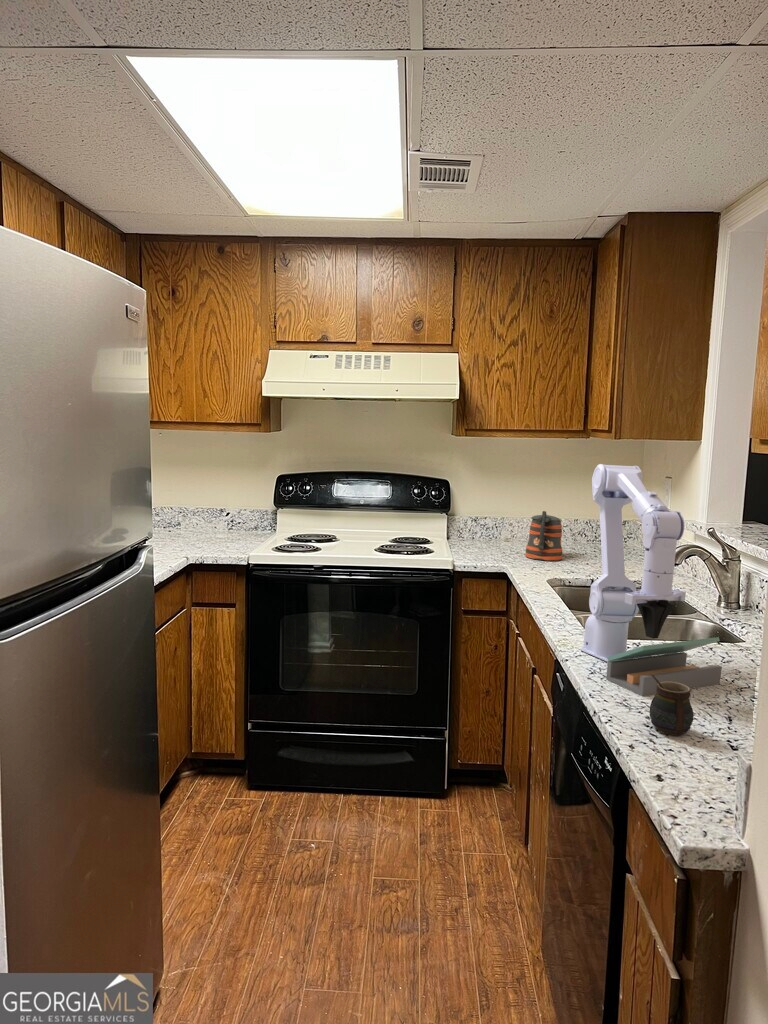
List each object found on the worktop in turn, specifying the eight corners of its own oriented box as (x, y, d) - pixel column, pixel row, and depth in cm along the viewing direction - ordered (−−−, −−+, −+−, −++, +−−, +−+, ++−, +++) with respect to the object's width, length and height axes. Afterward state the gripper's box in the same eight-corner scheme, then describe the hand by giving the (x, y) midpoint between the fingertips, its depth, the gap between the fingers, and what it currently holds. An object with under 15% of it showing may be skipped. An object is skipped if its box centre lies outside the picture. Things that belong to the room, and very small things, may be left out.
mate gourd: (700, 739, 125) (706, 683, 124) (657, 739, 124) (662, 682, 123) (680, 722, 132) (685, 668, 131) (639, 721, 132) (644, 668, 130)
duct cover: (608, 661, 153) (607, 657, 153) (682, 651, 162) (681, 648, 163) (643, 650, 144) (642, 646, 144) (719, 640, 154) (718, 637, 154)
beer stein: (561, 565, 281) (566, 513, 279) (523, 561, 285) (527, 510, 282) (562, 556, 300) (566, 508, 297) (525, 553, 303) (529, 505, 301)
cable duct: (604, 678, 154) (605, 660, 153) (679, 667, 163) (681, 651, 163) (642, 696, 144) (644, 677, 144) (719, 684, 154) (721, 666, 154)
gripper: (646, 576, 140) (639, 645, 142) (700, 573, 147) (693, 639, 148) (619, 569, 146) (613, 635, 148) (672, 566, 153) (666, 630, 154)
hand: (651, 637), depth 148 cm, fingers closed
